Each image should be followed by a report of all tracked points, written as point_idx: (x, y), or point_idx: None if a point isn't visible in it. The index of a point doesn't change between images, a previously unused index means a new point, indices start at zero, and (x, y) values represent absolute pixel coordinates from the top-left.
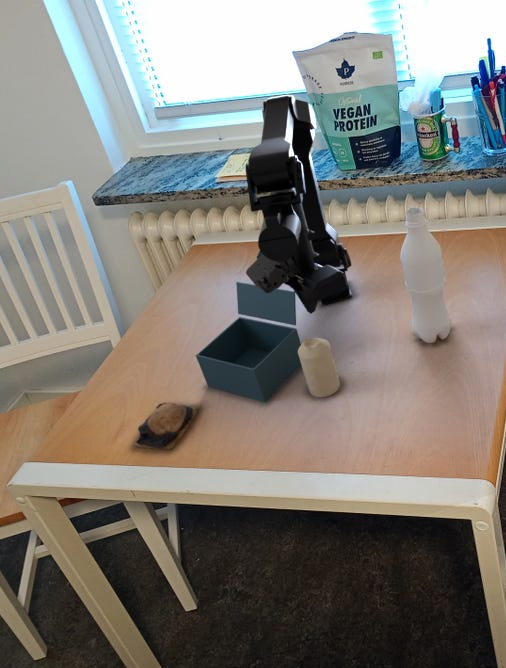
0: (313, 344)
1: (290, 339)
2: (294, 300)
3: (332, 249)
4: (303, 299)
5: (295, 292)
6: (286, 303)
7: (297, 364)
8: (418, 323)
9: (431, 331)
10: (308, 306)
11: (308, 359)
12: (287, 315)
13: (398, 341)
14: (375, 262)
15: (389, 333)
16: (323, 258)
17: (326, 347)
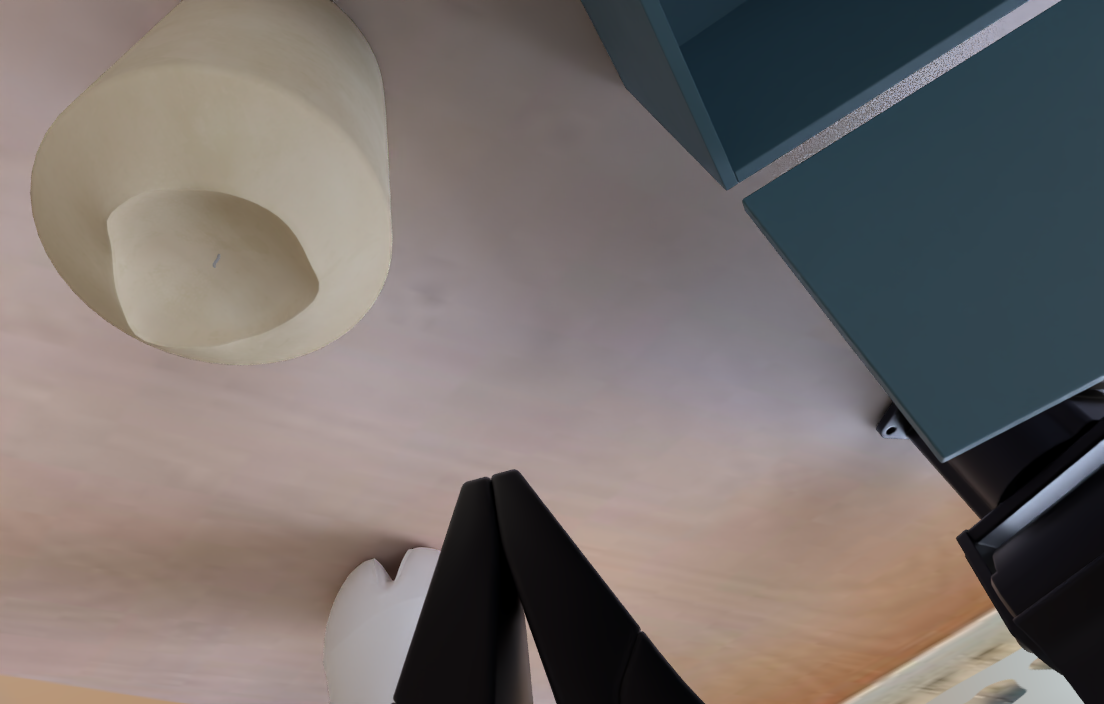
0: (239, 263)
1: (669, 88)
2: (881, 380)
3: (1084, 670)
4: (461, 689)
5: (675, 691)
6: (948, 289)
7: (595, 22)
8: (370, 641)
9: (327, 637)
10: (431, 591)
11: (51, 128)
12: (861, 208)
13: (452, 487)
14: (961, 531)
15: (531, 474)
16: (1097, 587)
17: (143, 341)
